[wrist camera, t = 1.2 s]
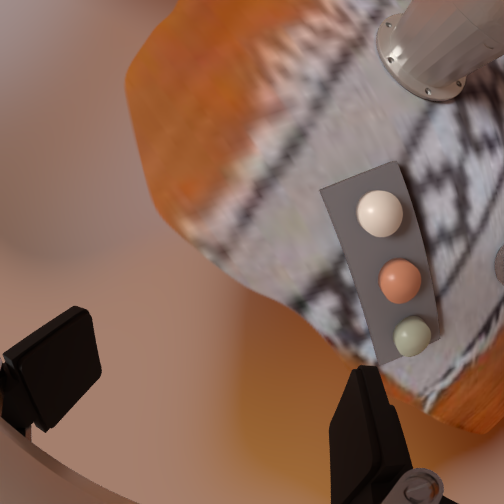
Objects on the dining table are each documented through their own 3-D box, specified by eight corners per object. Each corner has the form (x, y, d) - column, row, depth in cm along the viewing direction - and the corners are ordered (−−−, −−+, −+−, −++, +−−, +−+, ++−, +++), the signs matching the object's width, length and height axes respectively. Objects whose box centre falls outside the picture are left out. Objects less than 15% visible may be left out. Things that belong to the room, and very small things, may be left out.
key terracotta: (409, 251, 27) (416, 256, 25) (417, 287, 28) (424, 293, 26) (373, 266, 28) (378, 272, 26) (383, 302, 29) (388, 310, 27)
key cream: (387, 184, 26) (394, 184, 24) (401, 224, 26) (408, 227, 24) (349, 199, 27) (353, 200, 25) (364, 239, 27) (369, 244, 25)
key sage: (422, 310, 28) (428, 317, 26) (427, 338, 29) (432, 347, 27) (389, 324, 29) (394, 333, 27) (395, 353, 30) (400, 362, 28)
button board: (390, 161, 28) (396, 160, 26) (434, 331, 31) (440, 338, 30) (319, 189, 30) (320, 190, 28) (376, 357, 34) (379, 365, 32)
